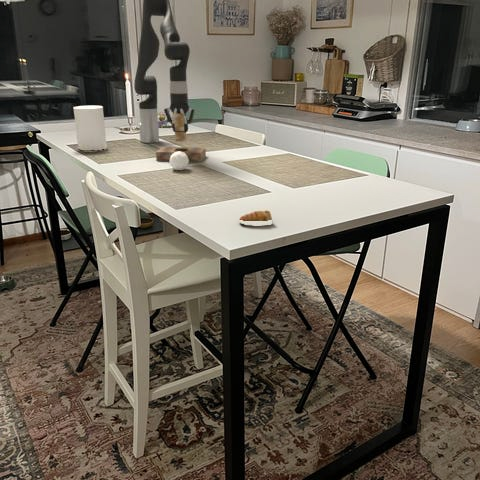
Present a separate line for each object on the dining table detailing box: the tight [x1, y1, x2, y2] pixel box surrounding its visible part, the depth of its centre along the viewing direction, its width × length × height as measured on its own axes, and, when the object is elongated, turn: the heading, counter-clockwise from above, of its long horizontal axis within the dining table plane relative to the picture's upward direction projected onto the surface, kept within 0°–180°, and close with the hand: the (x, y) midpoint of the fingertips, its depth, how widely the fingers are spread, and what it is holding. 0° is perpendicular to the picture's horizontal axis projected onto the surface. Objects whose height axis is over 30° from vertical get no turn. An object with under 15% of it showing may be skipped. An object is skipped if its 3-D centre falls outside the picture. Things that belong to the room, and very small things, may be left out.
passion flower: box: [158, 110, 173, 129], centre depth 306 cm, size 11×11×12 cm
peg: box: [174, 113, 187, 142], centre depth 216 cm, size 4×4×12 cm
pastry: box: [239, 209, 273, 221], centre depth 141 cm, size 9×7×4 cm
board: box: [155, 146, 207, 163], centre depth 221 cm, size 20×12×4 cm, turn 83°
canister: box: [73, 105, 108, 151], centre depth 239 cm, size 14×14×20 cm
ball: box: [169, 151, 190, 171], centre depth 200 cm, size 8×8×8 cm
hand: (180, 132), depth 217 cm, fingers closed on peg, 4 cm apart
